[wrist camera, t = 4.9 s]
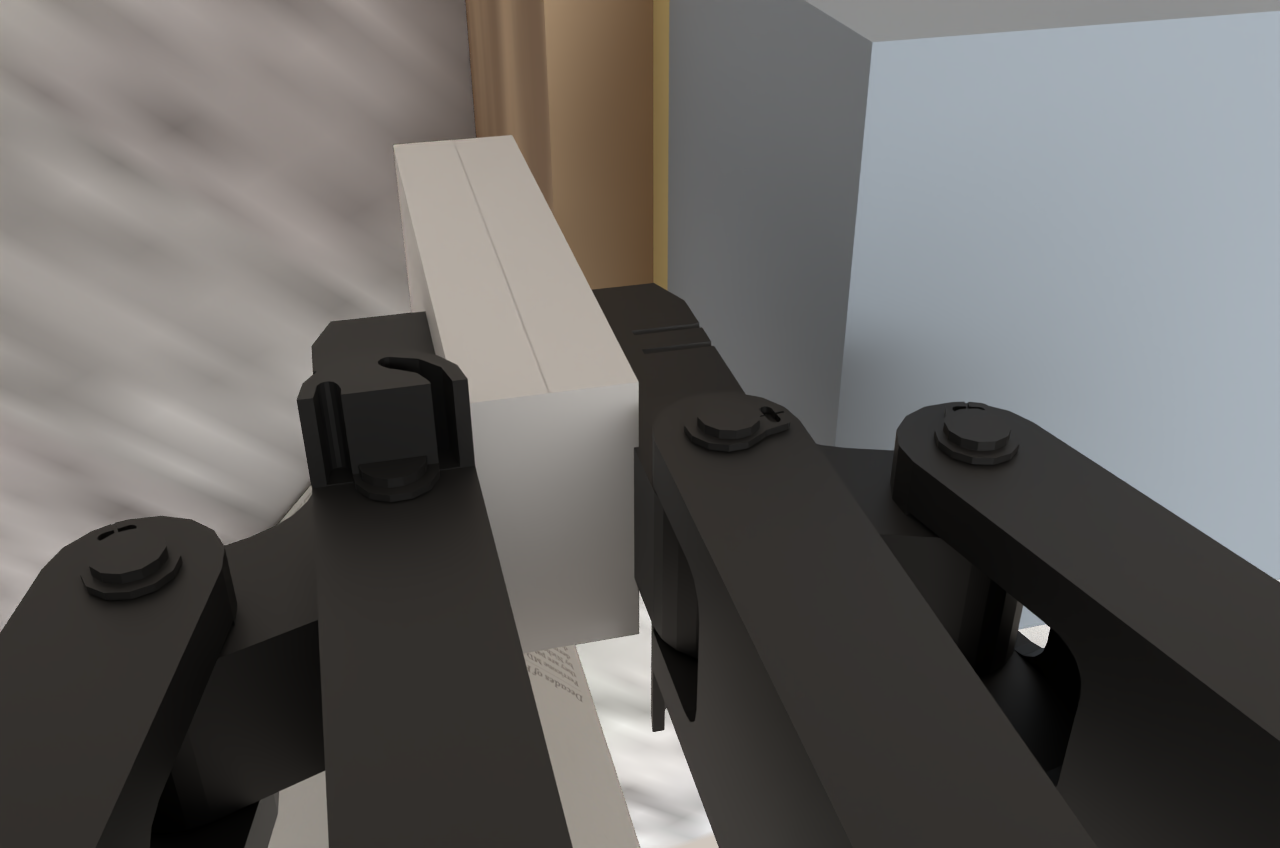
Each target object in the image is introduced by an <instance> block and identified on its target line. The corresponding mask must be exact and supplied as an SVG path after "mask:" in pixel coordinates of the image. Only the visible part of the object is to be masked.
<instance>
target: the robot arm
mask: <svg viewBox="0 0 1280 848" xmlns="http://www.w3.org/2000/svg"><path fill="white" fill-rule="evenodd" d="M393 149H394V158H395V167H396V176H397V185H398V194H399V203H400V212H401V222H402V231H403V240H404V249H405V258H406V267H407V276H408V285H409V294H410V303H411V312H412V313H405V314H396V315H387V316H378V317H368V318H359V319H350V320H341V321H332V322H330V323H329V324H328V326H327V327H326V328H325V330H324V331H323V332H322V334H321V335H320V336H319V337H318V339H317V340H316V341H315V343H314V344H313V345H312V363H313V375H312V376H311V377H310V378H309V379H308V380H306V381H305V382H304V383H303V384H302V387H301V390H300V392H299V395H298V398H297V405H298V410H299V416H300V422H301V428H302V434H303V439H304V445H305V451H306V457H307V463H308V469H309V474H310V480H311V486H312V495H311V496H310V498H309V499H308V501H307V502H306V503H305V504H304V505H303V506H302V507H301V508H300V509H299V510H298V511H297V512H296V513H295V514H293V515H292V516H291V517H289V518H287V519H286V520H284V521H283V522H281V523H279V524H278V525H276V526H275V527H273V528H270V529H268V530H266V531H263V532H261V533H259V534H256V535H254V536H252V537H249V538H246V539H243V540H240V541H238V542H235V543H232V544H229V545H226V546H224V545H223V544H222V542H221V541H220V539H219V537H218V536H217V534H216V533H215V531H214V530H212V529H210V528H208V527H206V526H204V525H202V524H200V523H198V522H196V521H194V520H191V519H183V518H174V517H166V516H157V517H148V518H139V519H130V520H125V521H121V522H117V523H115V524H113V525H111V524H110V525H108V526H105V527H102V528H100V529H97V530H94V531H91V532H90V533H88V534H86V535H84V536H83V537H81V538H79V539H78V540H76V541H74V542H72V543H71V544H69V545H67V546H65V547H64V548H62V549H61V550H60V551H59V552H58V553H57V554H56V555H55V556H54V557H53V558H52V559H51V560H50V562H49V563H48V564H47V565H46V566H45V567H44V568H43V569H42V570H41V571H40V573H39V575H38V576H37V578H36V579H35V581H34V582H33V584H32V585H31V587H30V588H29V590H28V591H27V593H26V594H25V596H24V598H23V599H22V601H21V602H20V604H19V605H18V607H17V608H16V610H15V611H14V613H13V614H12V616H11V617H10V619H9V621H8V622H7V624H6V625H5V627H4V628H3V630H2V631H1V633H0V848H268V845H269V842H270V838H271V835H272V832H273V829H274V825H275V822H276V819H277V815H278V806H279V791H281V790H284V789H286V788H288V787H290V786H292V785H295V784H297V783H299V782H301V781H303V780H306V779H308V778H310V777H312V776H315V775H317V774H319V773H321V772H323V771H325V778H326V799H327V820H328V841H329V848H573V846H572V843H571V839H570V835H569V831H568V827H567V823H566V819H565V815H564V811H563V807H562V803H561V799H560V796H559V792H558V788H557V784H556V780H555V776H554V772H553V768H552V764H551V760H550V756H549V753H548V749H547V745H546V741H545V737H544V733H543V729H542V725H541V721H540V717H539V713H538V709H537V706H536V702H535V698H534V694H533V690H532V686H531V682H530V678H529V674H528V670H527V666H526V662H525V659H524V655H523V654H524V653H530V652H535V651H541V650H547V649H553V648H559V647H565V646H571V645H577V644H582V643H588V642H594V641H600V640H606V639H612V638H618V637H623V636H629V635H635V634H639V591H640V594H641V596H642V599H643V601H644V604H645V606H646V609H647V611H648V614H649V616H650V619H651V621H652V657H651V717H652V730H653V732H656V731H662V730H664V716H665V709H666V708H667V710H668V712H669V715H670V718H671V720H672V723H673V726H674V728H675V731H676V734H677V736H678V739H679V742H680V744H681V747H682V750H683V752H684V755H685V758H686V760H687V763H688V766H689V768H690V771H691V774H692V777H693V779H694V782H695V785H696V787H697V790H698V793H699V795H700V798H701V801H702V803H703V806H704V809H705V811H706V814H707V817H708V819H709V822H710V825H711V827H712V830H713V833H714V835H715V838H716V841H717V844H718V846H719V848H1280V582H1279V581H1277V580H1276V579H1274V578H1273V577H1271V576H1269V575H1268V574H1266V573H1265V572H1263V571H1262V570H1260V569H1259V568H1257V567H1256V566H1254V565H1253V564H1251V563H1249V562H1248V561H1246V560H1245V559H1243V558H1242V557H1240V556H1239V555H1237V554H1236V553H1234V552H1232V551H1231V550H1229V549H1228V548H1226V547H1225V546H1223V545H1222V544H1220V543H1219V542H1217V541H1216V540H1214V539H1212V538H1211V537H1209V536H1208V535H1206V534H1205V533H1203V532H1202V531H1200V530H1199V529H1197V528H1195V527H1194V526H1192V525H1191V524H1189V523H1188V522H1186V521H1185V520H1183V519H1182V518H1180V517H1179V516H1177V515H1175V514H1174V513H1172V512H1171V511H1169V510H1168V509H1166V508H1165V507H1163V506H1162V505H1160V504H1159V503H1157V502H1155V501H1154V500H1152V499H1151V498H1149V497H1148V496H1146V495H1145V494H1143V493H1142V492H1140V491H1138V490H1137V489H1135V488H1134V487H1132V486H1131V485H1129V484H1128V483H1126V482H1125V481H1123V480H1122V479H1120V478H1118V477H1117V476H1115V475H1114V474H1112V473H1111V472H1109V471H1108V470H1106V469H1105V468H1103V467H1102V466H1100V465H1098V464H1097V463H1095V462H1094V461H1092V460H1091V459H1089V458H1088V457H1086V456H1085V455H1083V454H1081V453H1080V452H1078V451H1077V450H1075V449H1074V448H1072V447H1071V446H1069V445H1068V444H1066V443H1065V442H1063V441H1061V440H1060V439H1058V438H1057V437H1055V436H1054V435H1052V434H1051V433H1049V432H1048V431H1046V430H1044V429H1043V428H1041V427H1040V426H1038V425H1037V424H1035V423H1034V422H1032V421H1030V420H1027V419H1025V418H1023V417H1021V416H1019V415H1017V414H1015V413H1013V412H1011V411H1008V410H1004V409H1000V408H996V407H992V406H988V405H986V404H984V403H977V402H968V403H965V402H949V403H943V404H937V405H931V406H925V407H923V408H921V409H919V410H917V411H915V412H913V413H911V414H909V415H907V416H906V417H905V418H904V419H903V421H902V422H901V424H900V425H899V427H898V428H897V431H896V438H895V446H894V450H877V449H858V448H842V447H834V446H825V445H820V444H816V443H815V441H814V440H813V438H812V437H811V436H810V434H809V433H808V431H807V430H806V428H805V427H804V426H803V424H802V423H801V421H800V420H799V419H798V418H797V417H796V416H794V415H793V414H792V413H791V412H790V411H789V410H788V409H787V408H785V407H784V406H781V405H779V404H777V403H774V402H772V401H770V400H767V399H765V398H762V397H758V396H752V395H746V394H745V392H744V391H743V389H742V388H741V386H740V385H739V383H738V381H737V380H736V378H735V377H734V375H733V374H732V372H731V371H730V369H729V368H728V366H727V365H726V363H725V362H724V360H723V358H722V357H721V355H720V354H719V352H718V351H717V349H716V348H715V346H712V345H711V340H710V339H709V337H708V336H707V334H706V332H705V331H704V329H703V328H702V327H700V326H699V322H698V320H697V319H696V317H695V316H694V314H693V313H692V311H691V309H690V308H689V306H688V305H687V303H686V302H685V300H683V299H681V298H679V297H678V296H676V295H674V294H672V293H671V292H669V291H667V290H665V289H664V288H662V287H660V286H658V285H657V284H655V283H648V284H639V285H630V286H621V287H611V288H602V289H593V290H591V288H590V286H589V284H588V282H587V280H586V278H585V276H584V274H583V272H582V270H581V268H580V266H579V265H578V263H577V261H576V259H575V257H574V255H573V253H572V251H571V249H570V247H569V245H568V243H567V241H566V239H565V237H564V235H563V233H562V231H561V229H560V227H559V225H558V223H557V222H556V220H555V218H554V216H553V214H552V212H551V210H550V208H549V206H548V204H547V202H546V200H545V198H544V196H543V194H542V192H541V190H540V188H539V186H538V184H537V182H536V181H535V179H534V177H533V175H532V173H531V171H530V169H529V167H528V165H527V163H526V161H525V159H524V157H523V155H522V153H521V151H520V149H519V147H518V145H517V143H516V141H515V139H514V138H513V136H512V135H506V136H494V137H482V138H469V139H457V140H444V141H432V142H420V143H407V144H395V145H393ZM1023 606H1025V607H1026V608H1027V609H1028V610H1030V611H1031V612H1032V613H1033V614H1034V615H1036V616H1037V617H1038V618H1039V619H1041V620H1042V621H1043V622H1044V623H1045V624H1047V625H1048V626H1049V627H1050V632H1049V636H1048V641H1047V644H1046V646H1045V648H1041V647H1039V646H1038V645H1036V644H1034V643H1033V642H1031V641H1030V640H1029V639H1027V638H1026V637H1025V636H1024V635H1023V634H1021V633H1020V632H1019V631H1018V628H1019V623H1020V619H1021V614H1022V609H1023Z"/></svg>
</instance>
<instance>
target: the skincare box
mask: <svg viewBox="0 0 1280 848" xmlns="http://www.w3.org/2000/svg"><path fill="white" fill-rule="evenodd" d="M311 495H312V486H310V487H309V488H308V489H307V490H306V492H305V493H304V494H303V495H302V496H301V498H300V499H299V500H298V501H297V502H296V504H295V505H294V506H293V507H292V508H291V509H290V511H289V512H288V513H287V514H286V515H285V517H284V518H283V519H282V520H281V521H280V523H281V522H283V521H284V520H286V519H287V518H289V517H291V516H292V515H293V514H295V513H296V512H297V511H298V510H299V509H300V508H301V507H302V506H303V505H304V504H305V503H306V502H307V501H308V499H309V498H310V496H311ZM523 655H524V659H525V662H526V666H527V670H528V674H529V678H530V682H531V686H532V690H533V694H534V698H535V702H536V706H537V709H538V713H539V717H540V721H541V725H542V729H543V733H544V737H545V741H546V745H547V749H548V753H549V756H550V760H551V764H552V768H553V772H554V776H555V780H556V784H557V788H558V792H559V796H560V799H561V803H562V807H563V811H564V815H565V819H566V823H567V827H568V831H569V835H570V839H571V843H572V846H573V848H640V845H639V842H638V839H637V836H636V833H635V830H634V826H633V823H632V820H631V817H630V814H629V811H628V808H627V804H626V801H625V798H624V795H623V792H622V789H621V786H620V783H619V780H618V777H617V773H616V770H615V767H614V764H613V761H612V758H611V755H610V752H609V749H608V746H607V743H606V740H605V737H604V734H603V731H602V727H601V724H600V721H599V718H598V715H597V712H596V709H595V705H594V702H593V699H592V696H591V693H590V690H589V687H588V683H587V680H586V677H585V674H584V671H583V668H582V665H581V662H580V659H579V655H578V652H577V649H576V646H575V645H571V646H565V647H559V648H553V649H547V650H541V651H535V652H530V653H524V654H523ZM268 848H329V841H328V820H327V799H326V778H325V771H323V772H321V773H319V774H317V775H315V776H312V777H310V778H308V779H306V780H303V781H301V782H299V783H297V784H295V785H292V786H290V787H288V788H286V789H284V790H281V791H279V806H278V815H277V819H276V822H275V825H274V829H273V832H272V835H271V838H270V842H269V845H268Z"/></svg>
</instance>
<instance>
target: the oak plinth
mask: <svg viewBox="0 0 1280 848" xmlns="http://www.w3.org/2000/svg"><path fill="white" fill-rule="evenodd" d="M465 2H466V15H467V27H468V40H469V53H470V65H471V78H472V91H473V103H474V116H475V129H476V138H482V137H494V136H506V135H512V136H513V138H514V139H515V141H516V143H517V145H518V147H519V149H520V151H521V153H522V155H523V157H524V159H525V161H526V163H527V165H528V167H529V169H530V171H531V173H532V175H533V177H534V179H535V181H536V182H537V184H538V186H539V188H540V190H541V192H542V194H543V196H544V198H545V200H546V202H547V204H548V206H549V208H550V210H551V212H552V214H553V216H554V218H555V220H556V222H557V223H558V225H559V227H560V229H561V231H562V233H563V235H564V237H565V239H566V241H567V243H568V245H569V247H570V249H571V251H572V253H573V255H574V257H575V259H576V261H577V263H578V265H579V266H580V268H581V270H582V272H583V274H584V276H585V278H586V280H587V282H588V284H589V286H590V288H591V290H593V289H602V288H611V287H621V286H630V285H639V284H648V283H653V0H465Z"/></svg>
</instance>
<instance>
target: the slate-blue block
mask: <svg viewBox="0 0 1280 848" xmlns="http://www.w3.org/2000/svg"><path fill="white" fill-rule="evenodd" d="M653 283H655V284H657V285H658V286H660V287H662V288H664V289H665V290H667V291H669V292H671V293H672V294H674V295H676V296H678V297H679V298H681V299H683V300H685V302H686V303H687V305H688V306H689V308H690V309H691V311H692V313H693V314H694V316H695V317H696V319H697V320H698V322H699V326H700V327H702V328H703V329H704V331H705V332H706V334H707V336H708V337H709V339H710V340H711V345H712V346H715V348H716V349H717V351H718V352H719V354H720V355H721V357H722V358H723V360H724V362H725V363H726V365H727V366H728V368H729V369H730V371H731V372H732V374H733V375H734V377H735V378H736V380H737V381H738V383H739V385H740V386H741V388H742V389H743V391H744V392H745V394H746V395H752V396H758V397H762V398H765V399H767V400H770V401H772V402H774V403H777V404H779V405H781V406H784V407H785V408H787V409H788V410H789V411H790V412H791V413H792V414H793V415H794V416H796V417H797V418H798V419H799V420H800V421H801V423H802V424H803V426H804V427H805V428H806V430H807V431H808V433H809V434H810V436H811V437H812V438H813V440H814V441H815V443H816V444H820V445H825V446H834V447H842V448H858V449H877V450H894V446H895V438H896V431H897V428H898V427H899V425H900V424H901V422H902V421H903V419H904V418H905V417H906V416H907V415H909V414H911V413H913V412H915V411H917V410H919V409H921V408H923V407H925V406H931V405H937V404H943V403H949V402H965V403H968V402H977V403H984V404H986V405H988V406H992V407H996V408H1000V409H1004V410H1008V411H1011V412H1013V413H1015V414H1017V415H1019V416H1021V417H1023V418H1025V419H1027V420H1030V421H1032V422H1034V423H1035V424H1037V425H1038V426H1040V427H1041V428H1043V429H1044V430H1046V431H1048V432H1049V433H1051V434H1052V435H1054V436H1055V437H1057V438H1058V439H1060V440H1061V441H1063V442H1065V443H1066V444H1068V445H1069V446H1071V447H1072V448H1074V449H1075V450H1077V451H1078V452H1080V453H1081V454H1083V455H1085V456H1086V457H1088V458H1089V459H1091V460H1092V461H1094V462H1095V463H1097V464H1098V465H1100V466H1102V467H1103V468H1105V469H1106V470H1108V471H1109V472H1111V473H1112V474H1114V475H1115V476H1117V477H1118V478H1120V479H1122V480H1123V481H1125V482H1126V483H1128V484H1129V485H1131V486H1132V487H1134V488H1135V489H1137V490H1138V491H1140V492H1142V493H1143V494H1145V495H1146V496H1148V497H1149V498H1151V499H1152V500H1154V501H1155V502H1157V503H1159V504H1160V505H1162V506H1163V507H1165V508H1166V509H1168V510H1169V511H1171V512H1172V513H1174V514H1175V515H1177V516H1179V517H1180V518H1182V519H1183V520H1185V521H1186V522H1188V523H1189V524H1191V525H1192V526H1194V527H1195V528H1197V529H1199V530H1200V531H1202V532H1203V533H1205V534H1206V535H1208V536H1209V537H1211V538H1212V539H1214V540H1216V541H1217V542H1219V543H1220V544H1222V545H1223V546H1225V547H1226V548H1228V549H1229V550H1231V551H1232V552H1234V553H1236V554H1237V555H1239V556H1240V557H1242V558H1243V559H1245V560H1246V561H1248V562H1249V563H1251V564H1253V565H1254V566H1256V567H1257V568H1259V569H1260V570H1262V571H1263V572H1265V573H1266V574H1268V575H1269V576H1271V577H1273V578H1274V579H1276V580H1279V579H1280V0H653ZM1044 624H1045V623H1044V622H1043V621H1042V620H1041V619H1039V618H1038V617H1037V616H1036V615H1034V614H1033V613H1032V612H1031V611H1030V610H1028V609H1027V608H1026V607H1025V606H1023V609H1022V614H1021V619H1020V623H1019V628H1018V629H1024V628H1029V627H1034V626H1039V625H1044Z"/></svg>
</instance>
